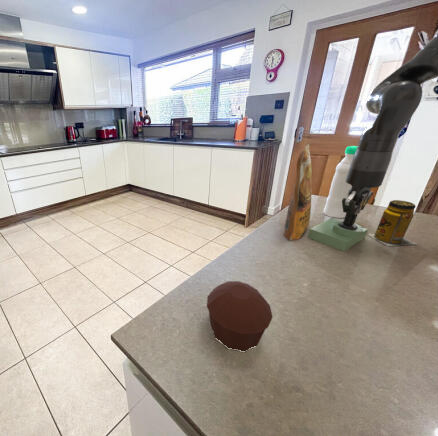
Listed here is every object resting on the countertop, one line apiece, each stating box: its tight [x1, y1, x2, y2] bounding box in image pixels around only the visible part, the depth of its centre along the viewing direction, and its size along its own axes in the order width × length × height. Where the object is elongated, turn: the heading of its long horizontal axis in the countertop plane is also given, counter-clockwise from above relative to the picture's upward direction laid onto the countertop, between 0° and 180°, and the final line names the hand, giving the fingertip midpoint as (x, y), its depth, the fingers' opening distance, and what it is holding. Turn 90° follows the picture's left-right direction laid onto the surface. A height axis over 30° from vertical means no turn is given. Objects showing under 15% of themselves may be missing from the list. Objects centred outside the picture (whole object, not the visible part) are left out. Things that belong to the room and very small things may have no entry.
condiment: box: [367, 199, 417, 247], centre depth 69 cm, size 7×8×12 cm
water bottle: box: [323, 145, 358, 219], centre depth 83 cm, size 7×7×25 cm
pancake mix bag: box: [283, 142, 313, 242], centre depth 74 cm, size 7×19×28 cm, turn 136°
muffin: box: [206, 280, 274, 352], centre depth 44 cm, size 12×11×10 cm
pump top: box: [339, 222, 358, 230], centre depth 70 cm, size 4×4×2 cm
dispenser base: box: [307, 217, 369, 252], centre depth 73 cm, size 13×10×5 cm
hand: (348, 224), depth 70 cm, fingers closed
